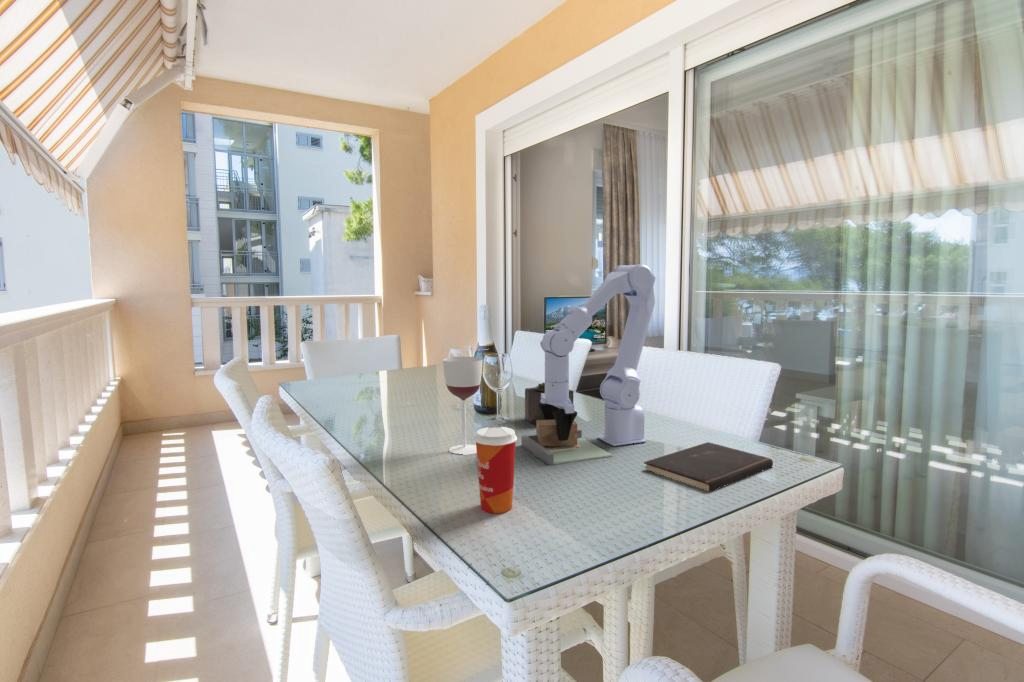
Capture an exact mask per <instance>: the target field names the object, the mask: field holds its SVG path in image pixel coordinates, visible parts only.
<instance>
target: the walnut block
mask: <svg viewBox="0 0 1024 682" xmlns="http://www.w3.org/2000/svg"><path fill="white" fill-rule="evenodd" d="M535 425H536V427H535V429H536V432H535V434H536V438H537V442H538V444H540V445H541V446H561V445H577V429H578V423H577V422H576V421H575V420H574V421H573V423H572V426H571V429H570V433H569V437H568V440H564V441H559V439H558V434H557V425H556V421H555V419H554V420H536V424H535Z"/></svg>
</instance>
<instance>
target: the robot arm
mask: <svg viewBox="0 0 1024 682" xmlns="http://www.w3.org/2000/svg"><path fill="white" fill-rule="evenodd" d="M655 281H656V276H655V274H654V273H653V271H652V270H651V268H650V267H649V266H648V265H647V264H643V263H638V264H629V265H628V264H626V265H625V264H620V265H617V266H616V267H615V268H614V269H613V270H612V271H611V272H609V273H608V274H607V275H606V277H605V278H604V281H603V282H602V283H601V284H600V285H599V286H598V288H597V289H596V290H595V291H594V292H593V293H592V294H591V296H590V297H589V298H588V299H587V300H586V301H585V303H584V304H583V305H582V306H574V307H573V308H568V309H567V311H566V314H567V315H565V316H564V317H563V318H562V320H560V322H559V323H556V324H554V325H553V329H551V330H548V331H547V332H544V335H542V340H541V341H539V342H540V343H539V344H540V347H541V349H542V350H543V351H544V383H545V393H541V400H540V402H541V403H543V404H538V408H539V410H540V412H541V414H542V417H543V420H554V419H555V421H556V425H557V434H558V439H559V441H564V440H568V437H569V433H570V429H571V426H572V423H573V421H575V420H576V417H577V416H578V411H575V404H574V403H573V404H572V402H571V401H570V399H569V390H570V385H569V384H570V382H569V381H570V376H569V375H570V369H569V367H570V358H569V357H570V353H571V352H572V351H573V349H574V345H575V342H576V341H577V340H578V339H579V338H580V337H581V335H583V334H584V332H585V331H586V330H587V329H589V327H591V325H592V324H593V316H594V315H595V314H596V313H598V311H600V310H601V308H603V307H604V306H605V305H606V304H607V303H608V302H609V301H611V300H612V298H613V297H614V296H615V295H619V294H620V295H621V294H622V295H624V297H625V298H626V300H627V301H628V303H629V304H630V307H629V311H628V315H627V319H626V322H625V327H624V329H623V333H622V338H621V340H620V345H619V349H618V352H617V356H616V359H615V361H614V365H613V366H612V367H611V368H609V370H608V371H607V374H606V376H605V378H604V379H603V380H602V382H601V383H600V386H599V393H600V396H601V397H602V398H603V400H604V431H603V432H604V434H603V435H598V436H597V439H599V440H601V441H603V442H605V443H607V444H609V445H611V446H612V447H617V446H625V445H633V443H634V444H640V443H646V442H647V440H646V439H645V413H644V410H643V408H642V407H641V405H639V404H638V403H639V400H640V398H641V397H640V396H641V392H640V385H641V384H640V383H641V378H640V376H639V374H638V372H637V369H638V367H639V366H638V365H639V362H640V360H641V359H640V358H641V355H642V352H643V349H644V344H645V341H646V338H647V333H648V330H649V325H650V322H651V319H652V315H653V312H654V307H655V303H656V299H655V290H654V285H655ZM559 409H560V411H559Z"/></svg>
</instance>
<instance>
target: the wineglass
mask: <svg viewBox="0 0 1024 682" xmlns="http://www.w3.org/2000/svg"><path fill="white" fill-rule="evenodd" d="M442 362H443V363H442V365H443V373H444V374H443V375H444V380H445V384H446V389H447V390H448V391H449V392H450V394H452V395H453V396H455V397H457V398H459V399H460V400H461V419H462V420H461V421H462V422H461V424H462V425H461V426H462V431H461V432H462V444H459V445H458V444H457V446H456V445H453V446H450V447H451V448H450V447H449V448H450V449H449V450H450V451H451V452H453V453H459V454H463V455H462V456H468V455H470V456H471V455H475V454H477V450H476V444H467V424H466V423H467V421H466V420H467V418H466V416H467V413H466V401H467V399H468V398H470V397H472V396H474V395H475V394H476V393H477V392H478V391H479V389H480V386H481V382H482V374H483V358H481V357H478V356H477V357H475V356H452V357H450V356H449V357H446V358H443V359H442Z"/></svg>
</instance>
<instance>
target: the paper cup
mask: <svg viewBox="0 0 1024 682" xmlns="http://www.w3.org/2000/svg"><path fill="white" fill-rule="evenodd" d="M473 440H474V442H475V445H476V450H477V453H476V459H477V460H476V461H477V474H478V487H479V498H480V508H481V510H482V511H483V512H484V513H488V514H493V515H494V514H495V515H497V514H504V513H508V512H510V511H511V510H512V508H513V500H514V499H513V498H514V497H513V496H514V483H515V482H514V479H515V460H516V458H515V456H516V442H517V440H518V437H517V435H516V432H515V430H514V429H512V428H510V427H505V426H500V427H498V426H491V427H488V426H487V427H481V428H480V429H478V430H477V431H476V434H475V436H474V438H473Z"/></svg>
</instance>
